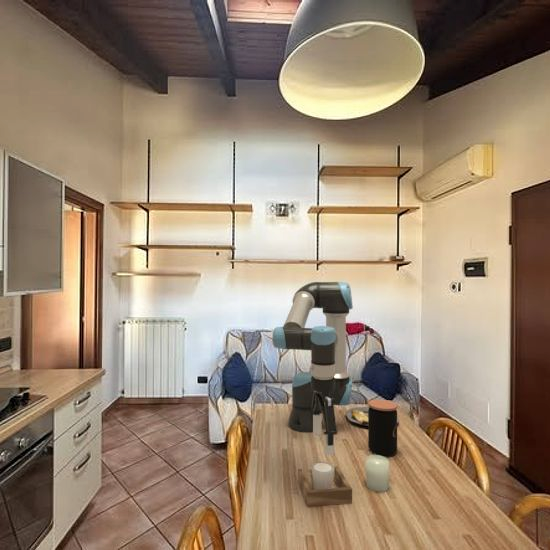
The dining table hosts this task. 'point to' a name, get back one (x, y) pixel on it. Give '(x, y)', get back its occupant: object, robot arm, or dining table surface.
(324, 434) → the robot arm
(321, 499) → the bay
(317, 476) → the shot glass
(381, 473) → the cream rounded cylinder
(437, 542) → the dining table surface
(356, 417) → the food plate
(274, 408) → the dining table surface
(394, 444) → the coffee jar
